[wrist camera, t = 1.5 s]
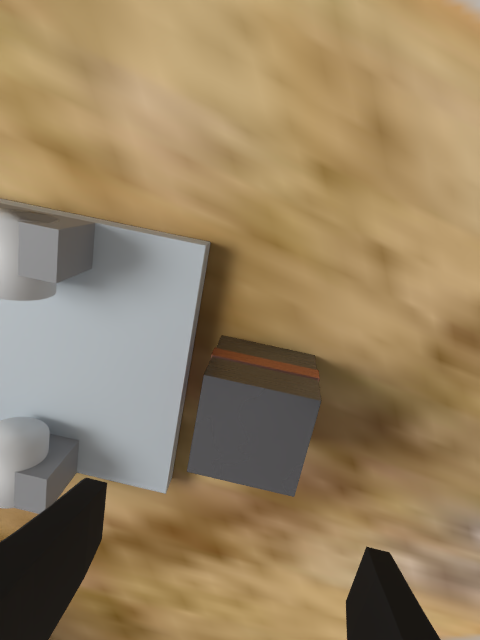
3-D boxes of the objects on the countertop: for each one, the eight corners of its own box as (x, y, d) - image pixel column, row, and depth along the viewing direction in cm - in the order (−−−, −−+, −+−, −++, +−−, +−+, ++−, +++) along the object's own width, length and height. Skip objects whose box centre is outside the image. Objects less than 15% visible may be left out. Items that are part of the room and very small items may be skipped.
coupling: (294, 435, 21) (294, 498, 17) (205, 415, 22) (185, 472, 17) (315, 353, 20) (323, 400, 16) (221, 333, 20) (202, 373, 16)
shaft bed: (171, 478, 23) (145, 543, 19) (-71, 421, 23) (-148, 472, 19) (210, 242, 19) (188, 257, 15) (-86, 180, 19) (-188, 179, 15)
